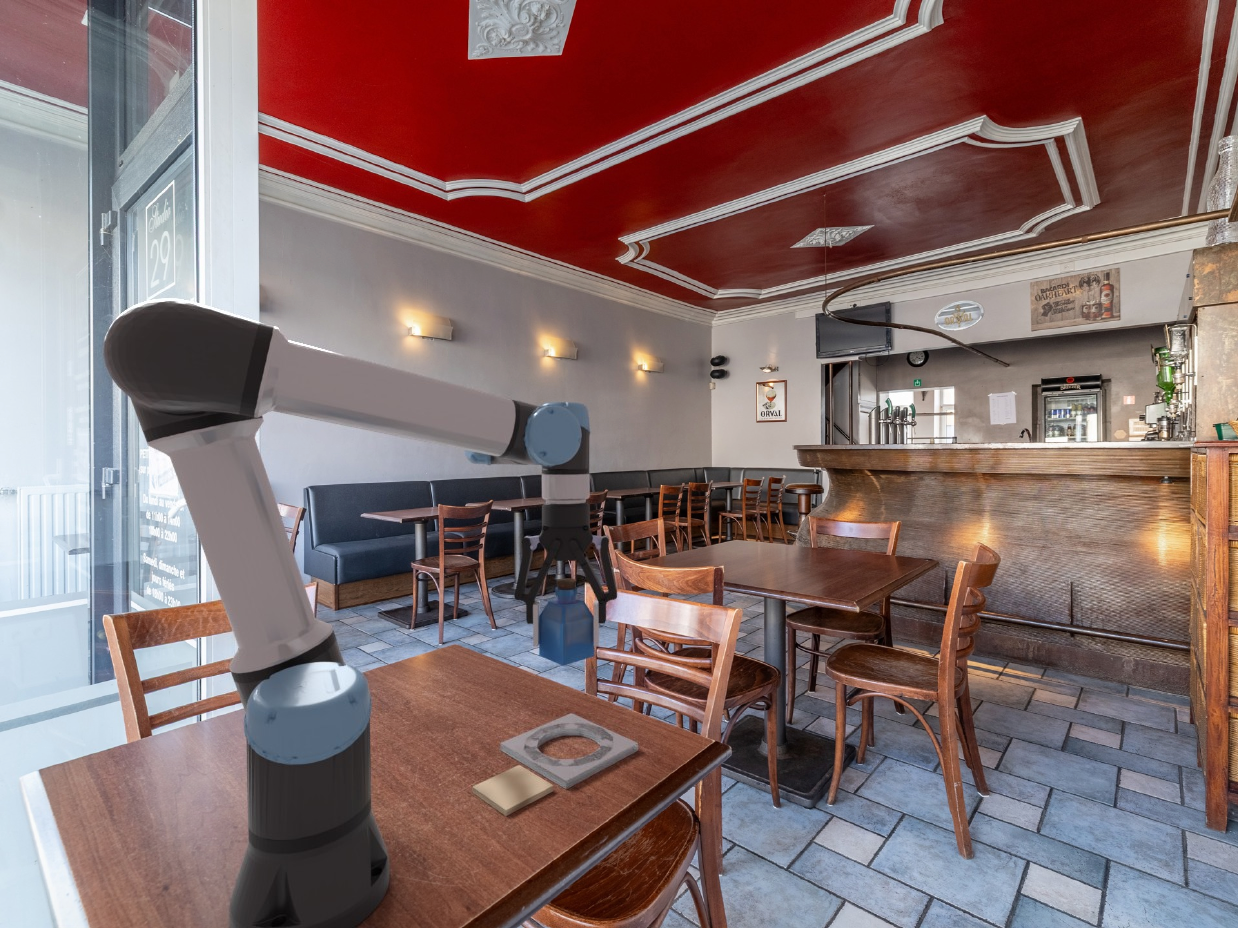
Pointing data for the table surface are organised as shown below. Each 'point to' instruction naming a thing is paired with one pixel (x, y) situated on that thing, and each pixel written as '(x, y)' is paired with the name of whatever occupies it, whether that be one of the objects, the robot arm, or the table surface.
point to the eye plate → (569, 769)
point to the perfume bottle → (566, 626)
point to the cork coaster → (512, 789)
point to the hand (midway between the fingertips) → (566, 643)
